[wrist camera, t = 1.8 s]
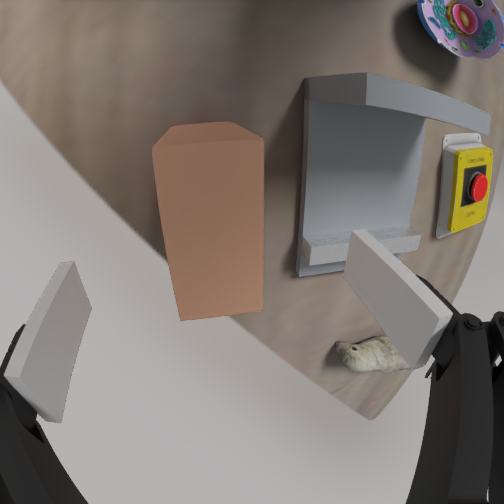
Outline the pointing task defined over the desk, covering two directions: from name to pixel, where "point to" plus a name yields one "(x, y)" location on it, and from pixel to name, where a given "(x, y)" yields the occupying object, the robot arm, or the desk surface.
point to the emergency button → (463, 182)
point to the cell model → (464, 26)
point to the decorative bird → (371, 355)
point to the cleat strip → (337, 243)
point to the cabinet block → (212, 217)
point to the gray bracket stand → (366, 153)
